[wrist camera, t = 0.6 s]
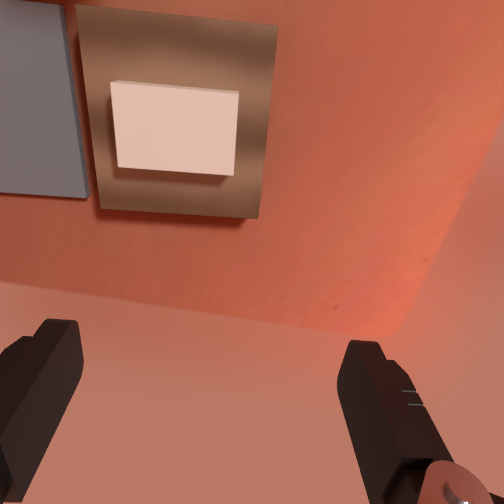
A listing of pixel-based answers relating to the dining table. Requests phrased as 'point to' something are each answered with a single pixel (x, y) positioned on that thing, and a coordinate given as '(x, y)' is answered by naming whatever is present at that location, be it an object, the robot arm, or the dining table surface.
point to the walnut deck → (178, 74)
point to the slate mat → (38, 104)
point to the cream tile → (174, 127)
